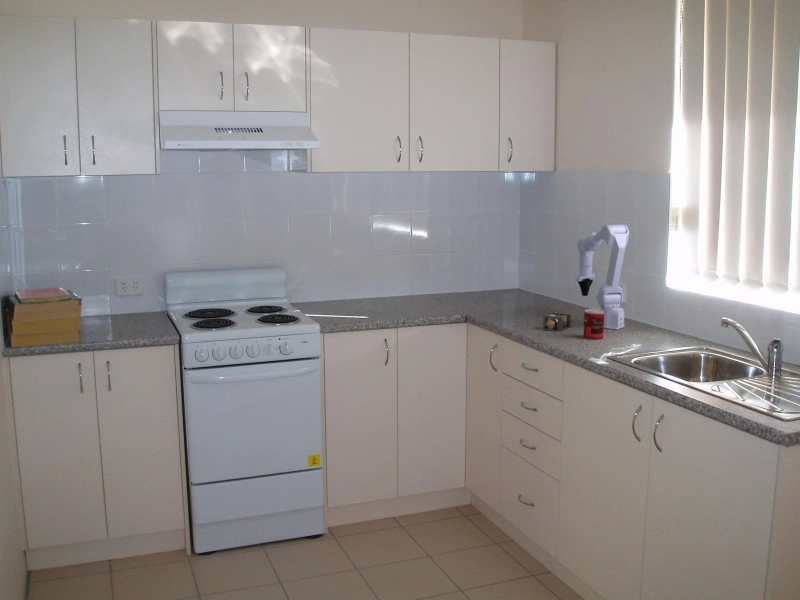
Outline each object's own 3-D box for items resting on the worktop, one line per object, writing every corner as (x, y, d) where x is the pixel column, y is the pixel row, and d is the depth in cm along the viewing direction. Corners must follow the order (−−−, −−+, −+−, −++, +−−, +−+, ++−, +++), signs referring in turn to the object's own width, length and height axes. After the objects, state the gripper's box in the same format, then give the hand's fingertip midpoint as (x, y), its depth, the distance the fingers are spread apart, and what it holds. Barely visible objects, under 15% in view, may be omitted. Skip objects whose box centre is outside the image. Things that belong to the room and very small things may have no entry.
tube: (574, 323, 360) (574, 314, 359) (553, 329, 346) (553, 320, 345) (566, 322, 362) (566, 313, 361) (545, 328, 348) (545, 319, 348)
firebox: (572, 327, 354) (572, 312, 353) (558, 331, 345) (558, 316, 344) (556, 325, 359) (556, 310, 358) (541, 329, 350) (542, 314, 349)
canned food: (588, 334, 338) (589, 308, 336) (606, 337, 333) (607, 310, 331) (580, 337, 332) (580, 311, 331) (598, 340, 327) (599, 313, 326)
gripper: (585, 263, 379) (584, 292, 381) (569, 266, 368) (569, 296, 370) (599, 264, 374) (598, 294, 376) (584, 267, 363) (583, 298, 365)
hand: (584, 295), depth 373 cm, fingers closed
